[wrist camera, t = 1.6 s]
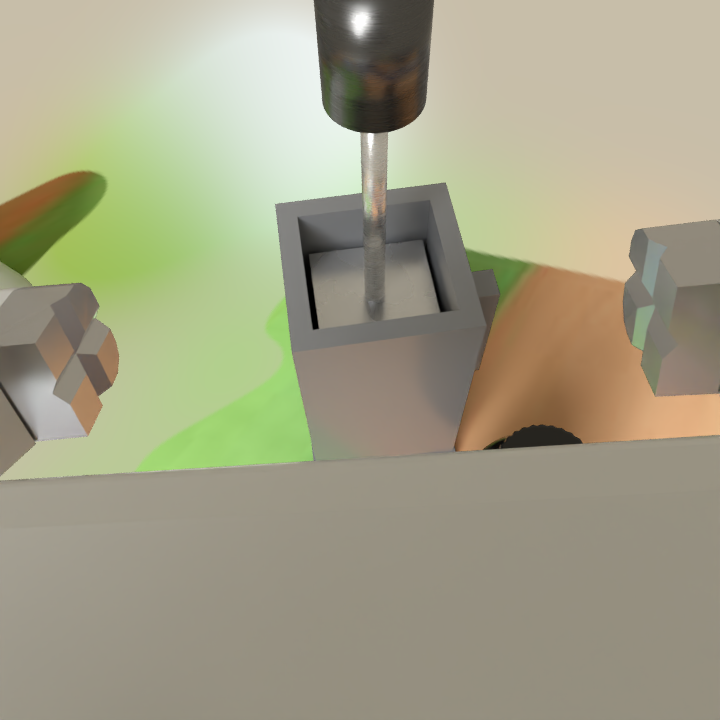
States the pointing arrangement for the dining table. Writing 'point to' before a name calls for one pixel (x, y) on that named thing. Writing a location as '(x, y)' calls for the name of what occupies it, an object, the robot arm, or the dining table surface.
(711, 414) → the dining table surface
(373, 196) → the dark cylinder rod
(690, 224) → the robot arm
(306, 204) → the gray open square box
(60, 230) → the dining table surface
